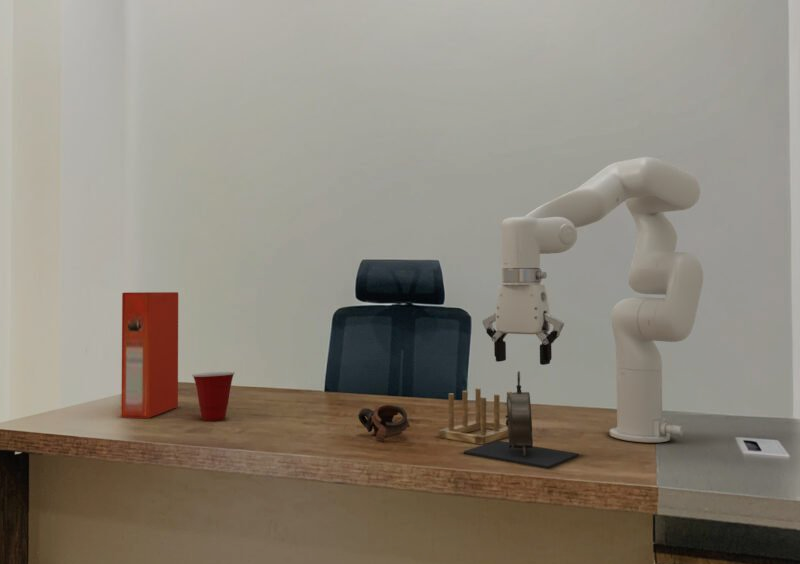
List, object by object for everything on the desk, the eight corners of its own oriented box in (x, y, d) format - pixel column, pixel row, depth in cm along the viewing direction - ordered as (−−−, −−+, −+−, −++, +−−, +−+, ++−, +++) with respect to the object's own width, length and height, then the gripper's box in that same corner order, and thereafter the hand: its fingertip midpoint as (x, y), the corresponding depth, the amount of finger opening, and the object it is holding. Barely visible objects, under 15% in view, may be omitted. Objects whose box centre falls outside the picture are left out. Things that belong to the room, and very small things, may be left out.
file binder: (120, 417, 182) (122, 292, 183) (150, 406, 199) (152, 292, 200) (149, 418, 180) (151, 292, 181) (177, 407, 197) (179, 292, 198)
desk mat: (578, 455, 142) (578, 453, 142) (548, 468, 132) (548, 466, 132) (497, 442, 154) (497, 440, 154) (464, 453, 144) (463, 451, 144)
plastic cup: (219, 413, 188) (219, 368, 188) (243, 419, 180) (243, 371, 180) (183, 418, 180) (183, 371, 181) (206, 424, 173) (206, 375, 173)
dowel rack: (520, 432, 166) (520, 391, 166) (483, 444, 152) (483, 399, 153) (478, 426, 173) (478, 386, 173) (438, 437, 160) (438, 394, 160)
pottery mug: (410, 435, 163) (415, 407, 160) (398, 461, 156) (403, 433, 152) (362, 419, 167) (366, 391, 163) (347, 443, 159) (351, 415, 155)
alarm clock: (533, 459, 137) (533, 374, 138) (504, 457, 139) (504, 373, 139) (531, 447, 148) (531, 368, 148) (505, 445, 149) (505, 367, 150)
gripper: (569, 277, 141) (571, 363, 141) (491, 278, 153) (493, 358, 152) (553, 277, 136) (555, 367, 135) (474, 278, 147) (475, 361, 147)
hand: (522, 362), depth 144 cm, fingers open, 9 cm apart
